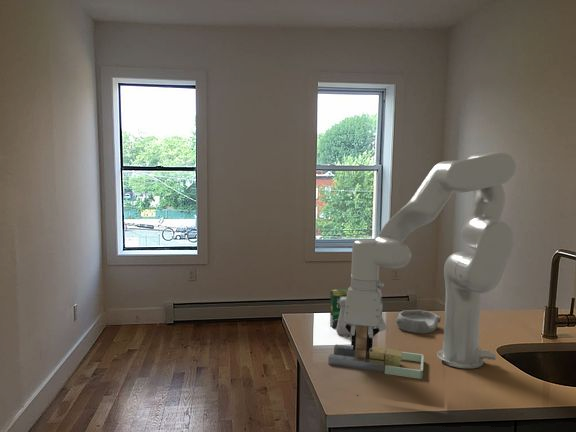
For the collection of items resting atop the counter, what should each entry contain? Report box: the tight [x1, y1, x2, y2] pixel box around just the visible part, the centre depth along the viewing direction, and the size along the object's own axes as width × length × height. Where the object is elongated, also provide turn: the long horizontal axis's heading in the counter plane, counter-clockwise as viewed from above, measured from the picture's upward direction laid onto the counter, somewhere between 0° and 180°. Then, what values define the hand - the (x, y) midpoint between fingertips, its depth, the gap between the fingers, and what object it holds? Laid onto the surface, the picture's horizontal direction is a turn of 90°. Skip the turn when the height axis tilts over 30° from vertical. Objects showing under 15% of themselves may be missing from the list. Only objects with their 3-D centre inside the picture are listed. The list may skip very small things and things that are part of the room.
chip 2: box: [384, 348, 403, 369], centre depth 129 cm, size 4×4×4 cm
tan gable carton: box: [355, 325, 369, 359], centre depth 131 cm, size 3×4×10 cm
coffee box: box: [329, 288, 348, 329], centre depth 164 cm, size 8×3×13 cm, turn 103°
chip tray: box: [384, 351, 425, 380], centre depth 128 cm, size 10×12×3 cm
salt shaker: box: [335, 297, 352, 337], centre depth 154 cm, size 6×6×13 cm
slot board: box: [327, 344, 387, 373], centre depth 132 cm, size 15×10×3 cm, turn 73°
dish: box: [395, 309, 442, 334], centre depth 165 cm, size 14×14×5 cm
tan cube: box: [369, 346, 387, 361], centre depth 130 cm, size 4×4×4 cm
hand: (361, 348), depth 131 cm, fingers closed on tan gable carton, 3 cm apart
